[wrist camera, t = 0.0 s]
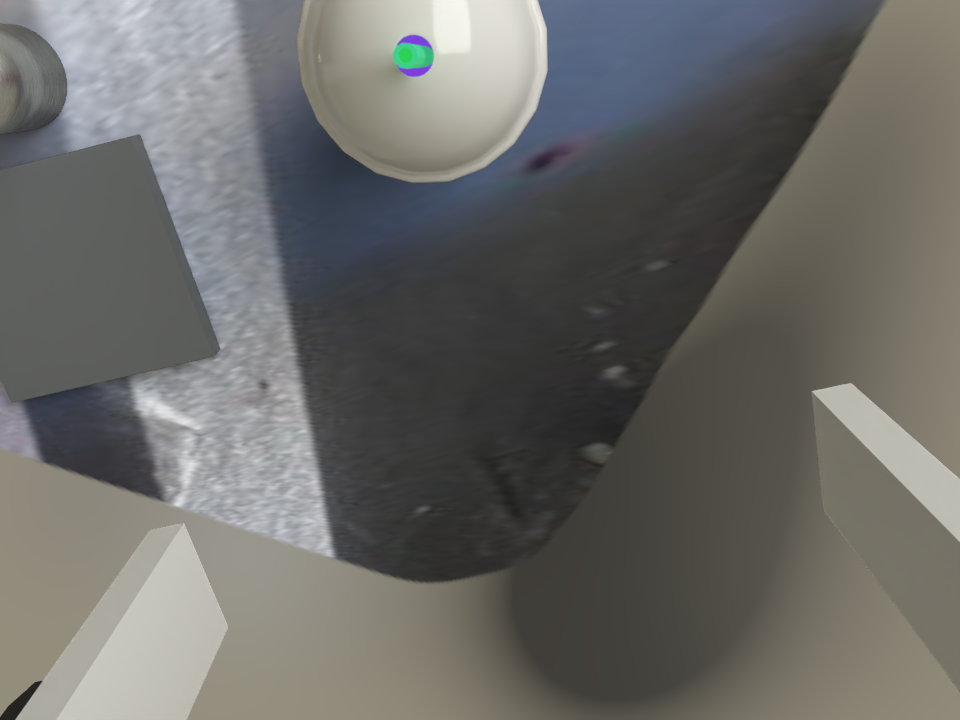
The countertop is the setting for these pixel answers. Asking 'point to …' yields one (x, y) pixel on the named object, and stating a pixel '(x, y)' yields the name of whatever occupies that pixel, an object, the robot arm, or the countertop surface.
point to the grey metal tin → (28, 80)
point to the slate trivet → (92, 274)
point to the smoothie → (423, 80)
